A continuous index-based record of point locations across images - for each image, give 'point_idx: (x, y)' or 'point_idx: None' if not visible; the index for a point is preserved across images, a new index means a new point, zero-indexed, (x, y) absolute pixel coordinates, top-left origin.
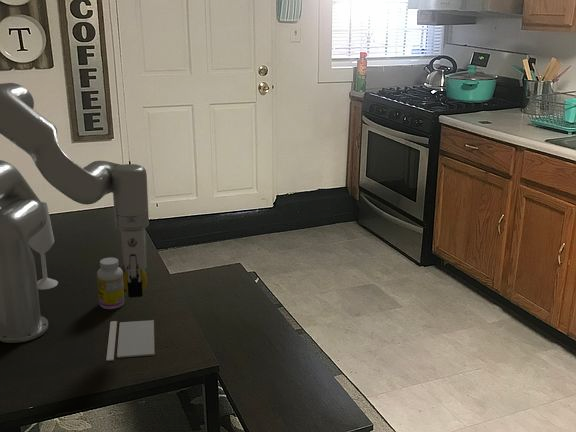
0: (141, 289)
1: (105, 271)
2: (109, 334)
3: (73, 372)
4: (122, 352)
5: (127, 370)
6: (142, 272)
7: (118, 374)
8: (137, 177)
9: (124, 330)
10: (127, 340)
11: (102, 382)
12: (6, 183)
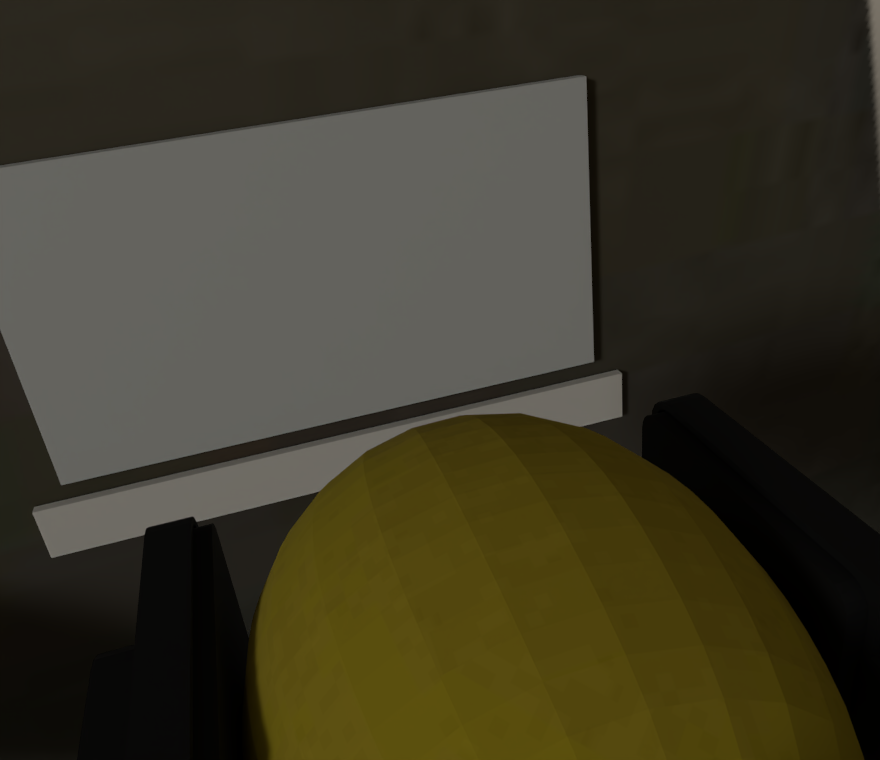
0: (778, 467)
1: None
2: (277, 499)
3: None
4: (546, 336)
5: (743, 248)
6: (792, 747)
7: (774, 296)
8: None
9: (206, 408)
10: (375, 343)
11: (829, 366)
12: None
